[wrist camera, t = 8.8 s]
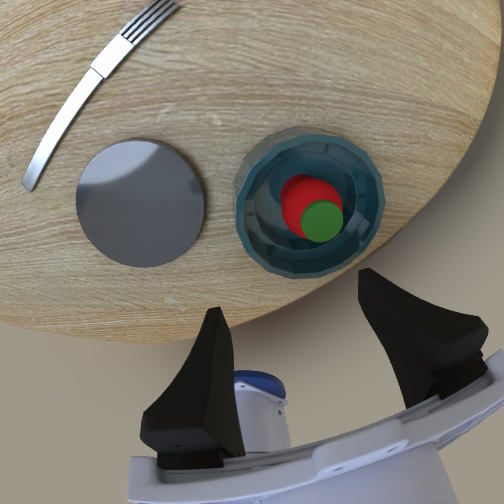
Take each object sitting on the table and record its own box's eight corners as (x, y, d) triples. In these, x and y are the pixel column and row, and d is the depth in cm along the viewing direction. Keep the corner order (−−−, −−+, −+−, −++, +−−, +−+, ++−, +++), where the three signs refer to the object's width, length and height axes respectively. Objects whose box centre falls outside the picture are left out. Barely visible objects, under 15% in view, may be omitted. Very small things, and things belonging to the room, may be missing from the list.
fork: (34, 192, 18) (31, 194, 17) (21, 180, 17) (18, 181, 17) (180, 7, 13) (179, 5, 12) (163, -6, 12) (162, -8, 12)
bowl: (379, 196, 22) (404, 216, 18) (290, 271, 25) (301, 301, 21) (308, 99, 17) (328, 100, 14) (203, 192, 20) (201, 214, 17)
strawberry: (336, 196, 21) (365, 223, 17) (297, 229, 22) (316, 263, 18) (305, 157, 19) (330, 176, 15) (263, 194, 20) (275, 223, 16)
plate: (233, 201, 21) (233, 206, 20) (151, 281, 23) (149, 288, 23) (132, 109, 16) (128, 110, 15) (61, 210, 19) (56, 215, 18)
